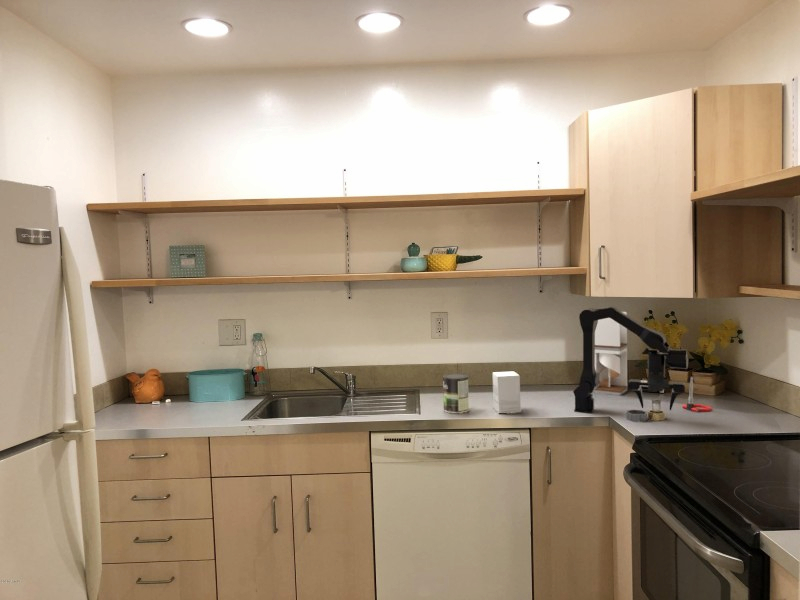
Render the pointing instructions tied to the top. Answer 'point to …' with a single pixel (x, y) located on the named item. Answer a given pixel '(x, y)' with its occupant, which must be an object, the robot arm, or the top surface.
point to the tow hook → (690, 401)
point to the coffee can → (455, 393)
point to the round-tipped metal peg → (656, 406)
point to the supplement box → (506, 392)
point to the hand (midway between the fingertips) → (656, 409)
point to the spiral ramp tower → (611, 357)
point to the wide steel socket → (636, 415)
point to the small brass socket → (656, 415)
